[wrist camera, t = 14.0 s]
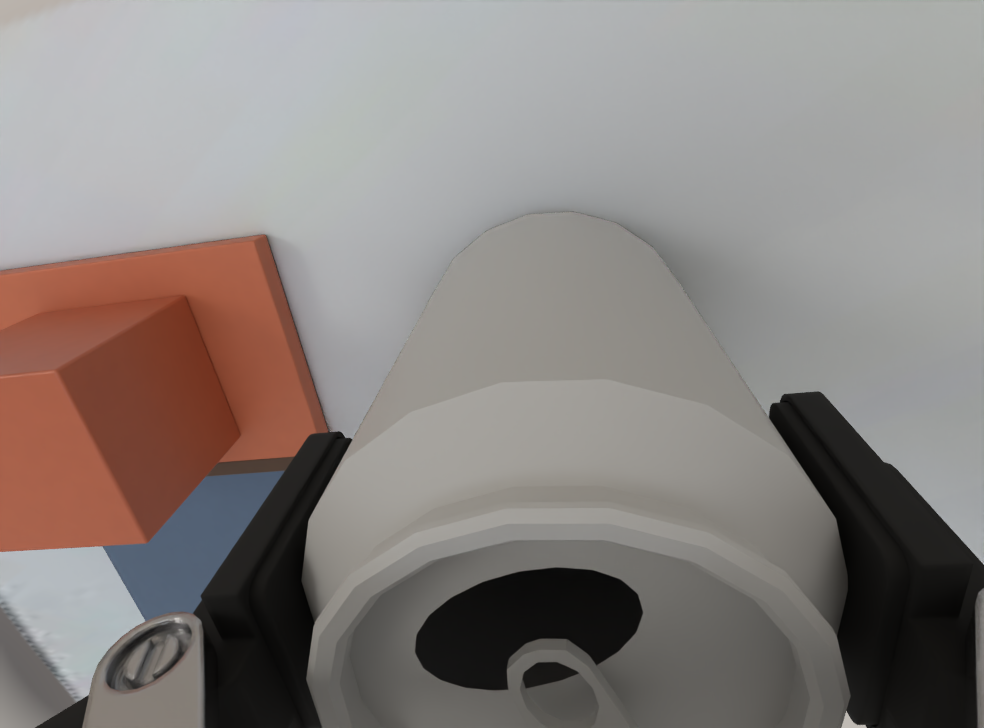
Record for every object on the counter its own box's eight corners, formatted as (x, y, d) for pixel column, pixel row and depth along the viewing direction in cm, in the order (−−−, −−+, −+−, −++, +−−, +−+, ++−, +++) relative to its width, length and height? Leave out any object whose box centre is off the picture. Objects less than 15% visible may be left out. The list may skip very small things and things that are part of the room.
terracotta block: (185, 293, 17) (55, 369, 12) (242, 436, 19) (148, 544, 14) (38, 312, 18) (-136, 390, 13) (108, 447, 20) (-21, 554, 15)
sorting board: (266, 233, 17) (253, 240, 16) (383, 602, 23) (378, 619, 22) (-28, 274, 18) (-52, 282, 17) (159, 610, 24) (147, 626, 24)
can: (611, 150, 15) (776, 319, 4) (722, 374, 17) (1006, 843, 7) (383, 287, 17) (105, 629, 6) (510, 468, 20) (466, 934, 9)
